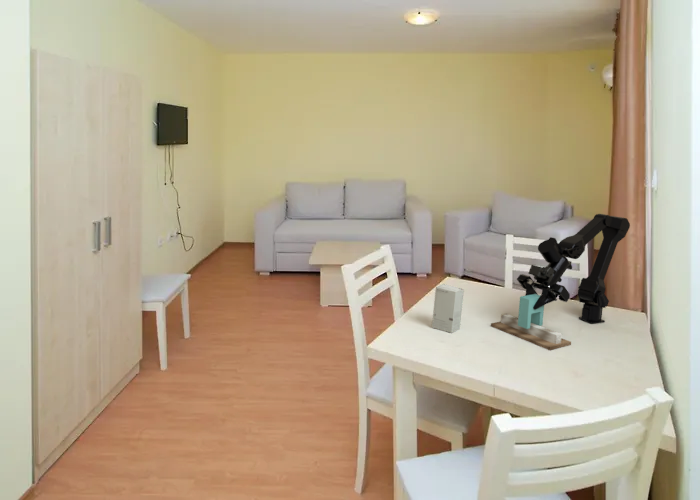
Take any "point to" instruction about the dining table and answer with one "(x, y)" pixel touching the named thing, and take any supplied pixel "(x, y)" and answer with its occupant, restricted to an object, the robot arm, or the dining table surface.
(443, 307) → the skincare box
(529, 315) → the teal rectangular block
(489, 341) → the dining table surface
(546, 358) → the dining table surface
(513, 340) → the dining table surface
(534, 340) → the rail board
